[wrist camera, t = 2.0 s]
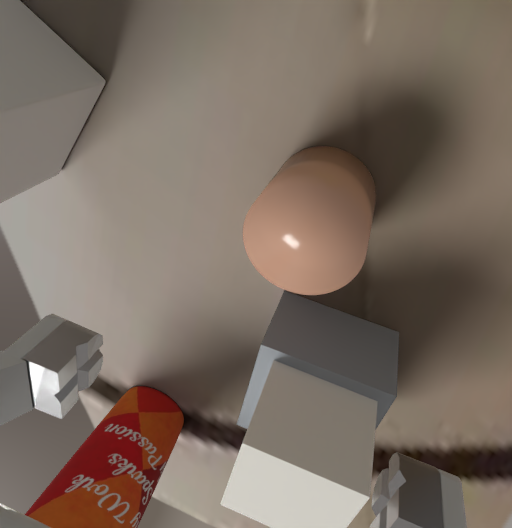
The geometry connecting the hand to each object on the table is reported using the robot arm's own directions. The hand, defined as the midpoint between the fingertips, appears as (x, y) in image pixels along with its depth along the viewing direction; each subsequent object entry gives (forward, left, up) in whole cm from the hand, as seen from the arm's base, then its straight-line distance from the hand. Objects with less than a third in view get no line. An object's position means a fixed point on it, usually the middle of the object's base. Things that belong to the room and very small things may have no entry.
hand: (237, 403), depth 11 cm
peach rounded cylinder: (0, 0, -13) cm, 13 cm away
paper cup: (+23, -8, -13) cm, 27 cm away
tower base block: (+10, +3, -13) cm, 17 cm away
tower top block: (+10, +3, -8) cm, 13 cm away
